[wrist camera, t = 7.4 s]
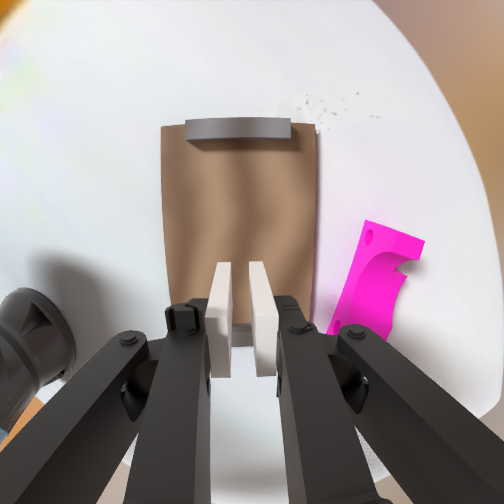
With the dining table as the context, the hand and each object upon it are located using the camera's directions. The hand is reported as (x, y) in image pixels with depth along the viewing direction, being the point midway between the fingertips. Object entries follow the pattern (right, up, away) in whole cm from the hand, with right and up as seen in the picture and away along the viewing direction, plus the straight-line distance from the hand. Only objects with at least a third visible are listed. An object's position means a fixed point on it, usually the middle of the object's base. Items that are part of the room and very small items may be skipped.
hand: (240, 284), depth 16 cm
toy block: (+15, -2, +17) cm, 23 cm away
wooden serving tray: (-1, +4, +14) cm, 14 cm away
